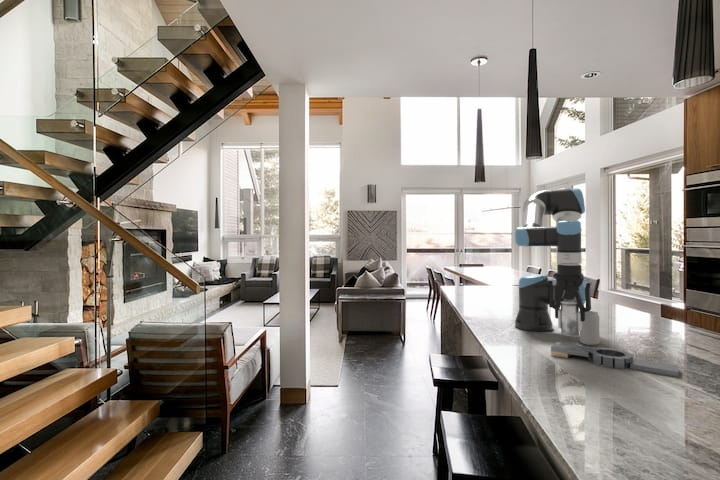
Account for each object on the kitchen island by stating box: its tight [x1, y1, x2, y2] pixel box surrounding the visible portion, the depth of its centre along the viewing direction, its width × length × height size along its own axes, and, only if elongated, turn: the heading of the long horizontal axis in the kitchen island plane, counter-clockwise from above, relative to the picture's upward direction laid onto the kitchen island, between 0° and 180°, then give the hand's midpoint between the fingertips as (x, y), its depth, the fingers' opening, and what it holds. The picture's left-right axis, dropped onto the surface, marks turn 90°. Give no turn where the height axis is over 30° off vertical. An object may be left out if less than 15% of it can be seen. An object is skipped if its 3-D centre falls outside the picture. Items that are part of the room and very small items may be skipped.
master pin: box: [560, 299, 580, 337], centre depth 136 cm, size 6×6×12 cm
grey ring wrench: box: [550, 341, 679, 378], centre depth 121 cm, size 33×12×3 cm, turn 50°
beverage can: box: [579, 310, 601, 346], centre depth 142 cm, size 6×6×12 cm
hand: (570, 328), depth 136 cm, fingers closed on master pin, 5 cm apart
